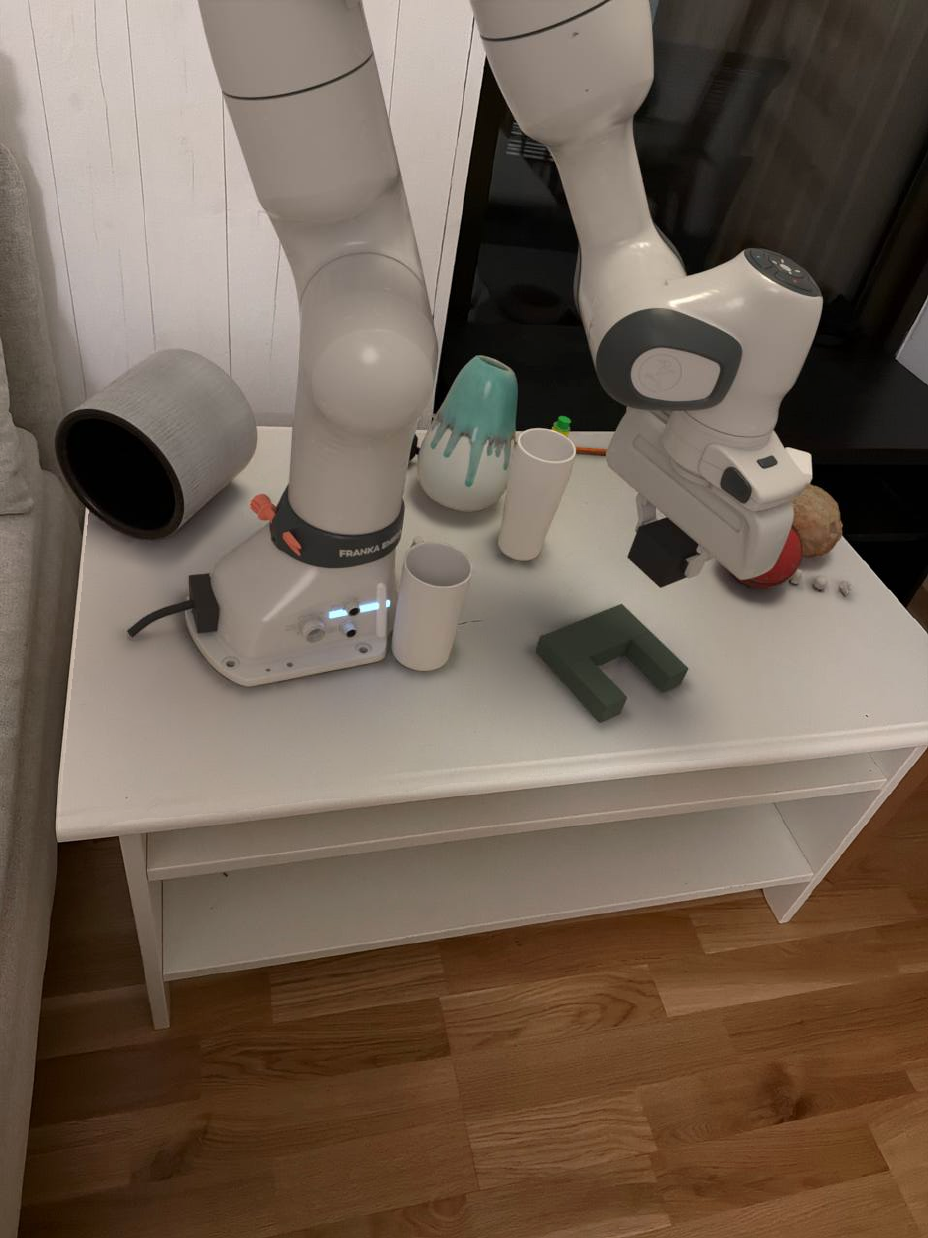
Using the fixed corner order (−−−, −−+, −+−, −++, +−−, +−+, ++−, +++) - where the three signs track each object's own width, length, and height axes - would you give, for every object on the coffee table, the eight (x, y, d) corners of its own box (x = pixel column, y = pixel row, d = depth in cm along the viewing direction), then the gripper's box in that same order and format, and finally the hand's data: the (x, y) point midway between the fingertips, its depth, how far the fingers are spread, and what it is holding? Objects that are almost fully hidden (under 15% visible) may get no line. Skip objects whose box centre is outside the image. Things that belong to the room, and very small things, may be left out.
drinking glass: (550, 540, 120) (582, 438, 109) (539, 573, 115) (571, 469, 105) (498, 524, 120) (524, 420, 110) (484, 556, 115) (510, 451, 105)
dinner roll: (734, 541, 123) (736, 546, 133) (838, 562, 120) (832, 565, 129) (752, 467, 123) (753, 477, 132) (857, 486, 119) (849, 495, 129)
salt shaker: (774, 467, 141) (774, 504, 134) (785, 444, 139) (785, 480, 132) (801, 475, 141) (802, 512, 134) (812, 452, 138) (814, 488, 131)
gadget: (793, 543, 127) (833, 549, 113) (744, 596, 128) (776, 609, 114) (741, 495, 127) (774, 495, 112) (691, 549, 128) (718, 556, 113)
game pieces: (847, 586, 124) (854, 576, 122) (849, 599, 122) (857, 588, 121) (787, 572, 123) (794, 562, 121) (788, 584, 122) (796, 574, 120)
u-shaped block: (600, 722, 99) (606, 706, 98) (534, 652, 105) (540, 635, 103) (681, 683, 106) (689, 668, 104) (615, 619, 111) (621, 603, 110)
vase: (493, 488, 127) (533, 355, 119) (506, 529, 118) (551, 387, 109) (406, 471, 125) (440, 334, 116) (413, 511, 115) (450, 365, 106)
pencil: (653, 456, 138) (654, 459, 137) (531, 446, 134) (532, 449, 133) (654, 451, 137) (656, 454, 137) (532, 441, 133) (533, 444, 133)
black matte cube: (695, 574, 98) (708, 543, 95) (660, 588, 96) (673, 557, 93) (661, 544, 101) (674, 514, 98) (626, 557, 98) (638, 526, 95)
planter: (117, 359, 113) (24, 422, 102) (218, 329, 104) (130, 394, 93) (186, 479, 121) (107, 549, 110) (285, 460, 112) (211, 534, 101)
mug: (461, 668, 101) (482, 583, 93) (400, 678, 99) (416, 591, 91) (429, 602, 108) (447, 517, 100) (371, 610, 105) (384, 523, 97)
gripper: (614, 382, 91) (576, 500, 101) (775, 509, 81) (716, 628, 90) (661, 371, 95) (620, 486, 104) (822, 492, 84) (760, 608, 93)
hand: (666, 553), depth 97 cm, fingers closed on black matte cube, 5 cm apart
